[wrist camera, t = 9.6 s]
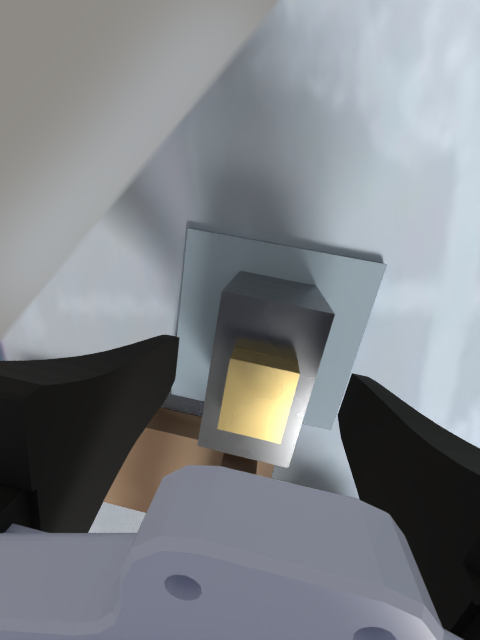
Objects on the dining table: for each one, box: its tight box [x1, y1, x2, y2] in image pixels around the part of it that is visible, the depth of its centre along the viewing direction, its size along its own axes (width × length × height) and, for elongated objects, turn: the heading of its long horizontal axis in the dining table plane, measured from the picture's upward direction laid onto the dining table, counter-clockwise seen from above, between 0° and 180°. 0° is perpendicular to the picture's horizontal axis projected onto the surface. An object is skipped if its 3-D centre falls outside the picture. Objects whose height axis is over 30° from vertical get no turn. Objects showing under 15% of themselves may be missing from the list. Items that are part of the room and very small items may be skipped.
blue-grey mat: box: [171, 228, 387, 430], centre depth 16 cm, size 10×10×1 cm
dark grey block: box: [197, 271, 335, 468], centre depth 13 cm, size 4×7×6 cm, turn 170°
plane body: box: [103, 408, 274, 513], centre depth 18 cm, size 16×7×4 cm, turn 80°
